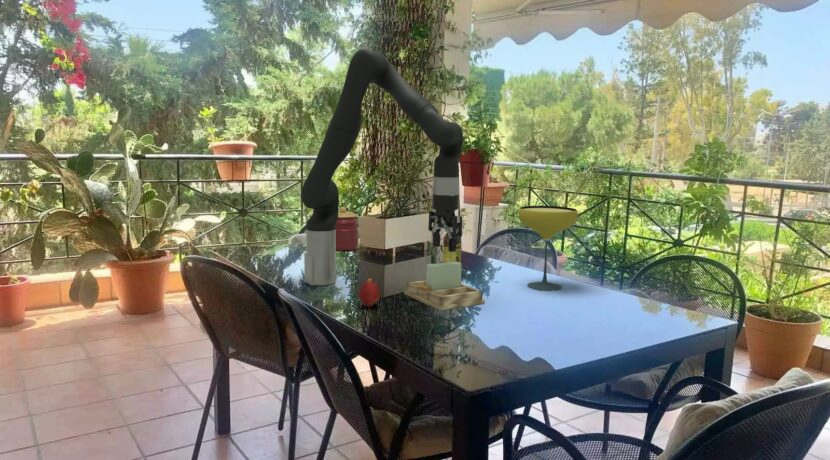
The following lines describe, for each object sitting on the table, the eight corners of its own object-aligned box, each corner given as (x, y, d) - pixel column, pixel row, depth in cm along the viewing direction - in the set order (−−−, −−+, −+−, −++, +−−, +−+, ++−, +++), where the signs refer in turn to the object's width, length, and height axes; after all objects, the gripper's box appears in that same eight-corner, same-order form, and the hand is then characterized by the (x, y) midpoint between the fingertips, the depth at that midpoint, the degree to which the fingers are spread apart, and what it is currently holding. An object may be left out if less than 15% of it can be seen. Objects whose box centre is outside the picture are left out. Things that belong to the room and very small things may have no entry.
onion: (363, 310, 166) (363, 281, 165) (355, 305, 171) (355, 277, 170) (383, 308, 169) (383, 279, 168) (374, 303, 174) (374, 275, 173)
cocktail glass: (584, 286, 197) (588, 209, 193) (554, 296, 184) (558, 213, 180) (535, 277, 209) (538, 204, 205) (504, 286, 196) (507, 208, 192)
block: (431, 297, 176) (432, 266, 174) (426, 295, 178) (426, 264, 177) (460, 293, 181) (461, 263, 179) (455, 291, 183) (455, 261, 182)
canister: (323, 250, 254) (323, 208, 251) (332, 245, 267) (332, 204, 264) (354, 252, 252) (354, 209, 249) (362, 246, 265) (362, 205, 262)
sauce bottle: (459, 279, 204) (460, 220, 202) (440, 278, 206) (441, 219, 203) (461, 275, 211) (463, 217, 208) (443, 274, 212) (445, 217, 209)
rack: (439, 310, 167) (440, 294, 167) (404, 294, 184) (404, 280, 184) (484, 303, 175) (485, 288, 174) (446, 288, 192) (446, 275, 191)
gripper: (421, 191, 179) (420, 246, 182) (448, 195, 167) (446, 254, 170) (443, 190, 183) (441, 244, 185) (470, 194, 171) (469, 252, 173)
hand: (444, 249), depth 177 cm, fingers open, 8 cm apart
